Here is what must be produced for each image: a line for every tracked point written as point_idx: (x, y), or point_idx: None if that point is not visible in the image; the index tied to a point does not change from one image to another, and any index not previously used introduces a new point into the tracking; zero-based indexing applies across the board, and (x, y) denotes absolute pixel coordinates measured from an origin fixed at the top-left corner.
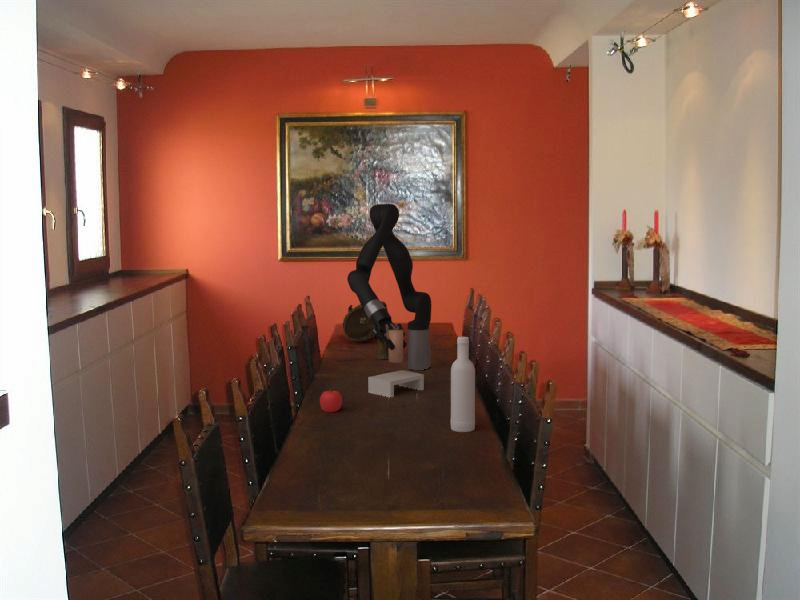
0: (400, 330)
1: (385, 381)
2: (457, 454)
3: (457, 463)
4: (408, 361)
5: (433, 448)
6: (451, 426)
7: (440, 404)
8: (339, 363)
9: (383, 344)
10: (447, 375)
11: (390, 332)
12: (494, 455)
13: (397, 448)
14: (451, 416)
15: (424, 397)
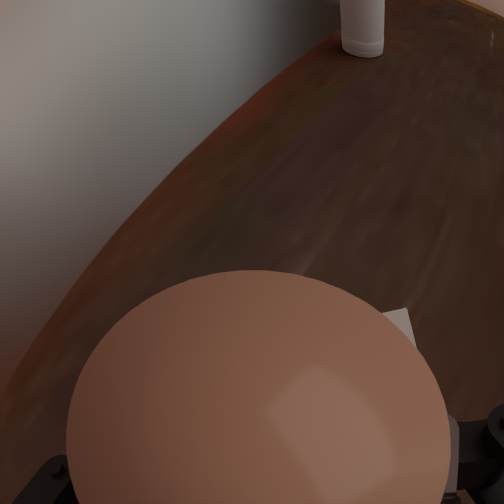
0: (168, 355)
1: (413, 341)
2: (415, 21)
3: (424, 15)
4: None
5: (436, 36)
6: (382, 48)
7: (292, 165)
8: None
9: None
10: (16, 445)
11: (435, 431)
12: None
13: (479, 54)
14: (383, 33)
15: (274, 258)
